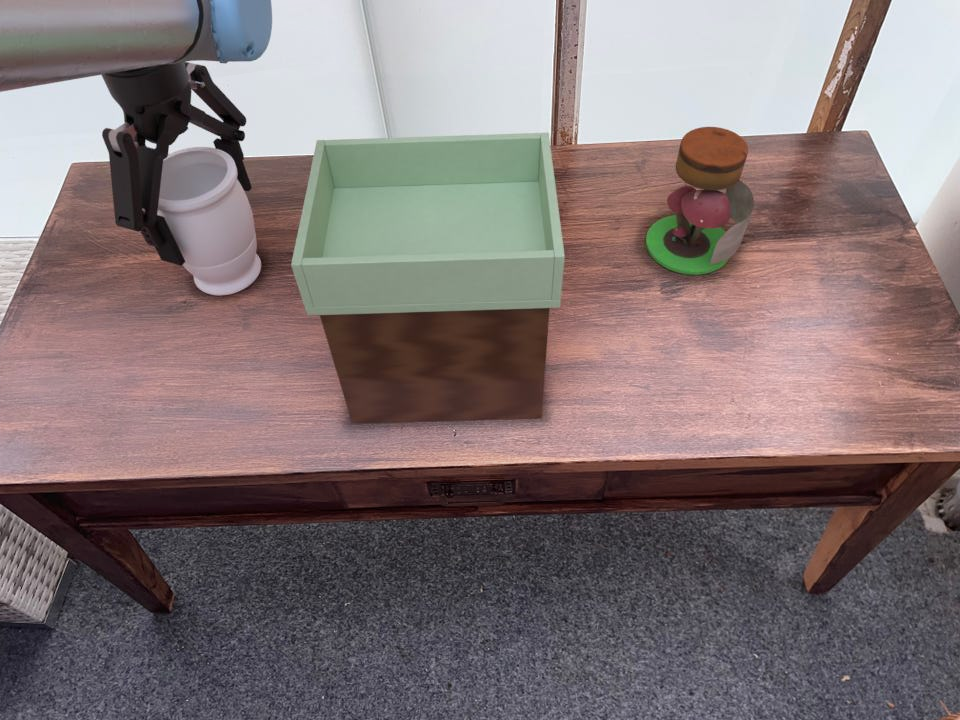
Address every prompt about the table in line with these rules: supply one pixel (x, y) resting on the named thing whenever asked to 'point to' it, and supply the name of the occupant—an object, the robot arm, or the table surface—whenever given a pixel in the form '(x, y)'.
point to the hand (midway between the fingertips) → (208, 222)
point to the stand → (440, 364)
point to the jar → (210, 219)
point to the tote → (430, 225)
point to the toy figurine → (704, 204)
